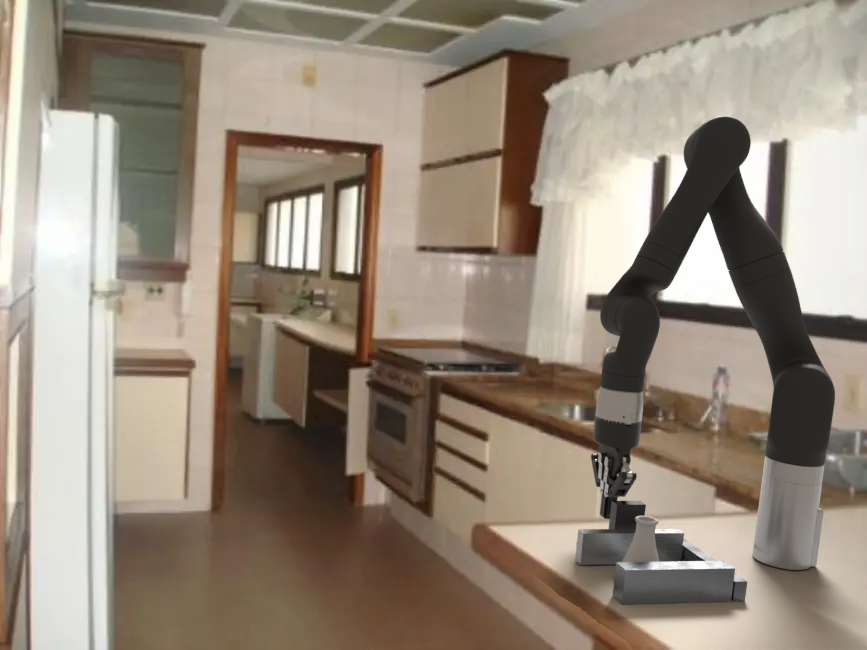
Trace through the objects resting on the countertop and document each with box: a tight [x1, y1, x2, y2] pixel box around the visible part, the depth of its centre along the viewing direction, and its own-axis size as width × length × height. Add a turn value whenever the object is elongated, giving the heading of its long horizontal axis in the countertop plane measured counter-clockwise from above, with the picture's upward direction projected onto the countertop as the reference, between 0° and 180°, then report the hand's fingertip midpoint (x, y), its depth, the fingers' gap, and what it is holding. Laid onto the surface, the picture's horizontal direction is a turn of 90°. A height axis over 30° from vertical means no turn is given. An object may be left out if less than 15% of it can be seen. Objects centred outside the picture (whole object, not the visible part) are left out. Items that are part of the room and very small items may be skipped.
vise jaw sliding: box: [574, 500, 685, 566], centre depth 151 cm, size 17×4×9 cm, turn 105°
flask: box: [613, 515, 659, 578], centre depth 142 cm, size 7×7×10 cm
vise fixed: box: [612, 538, 748, 605], centre depth 145 cm, size 20×19×5 cm
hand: (607, 517), depth 159 cm, fingers closed
